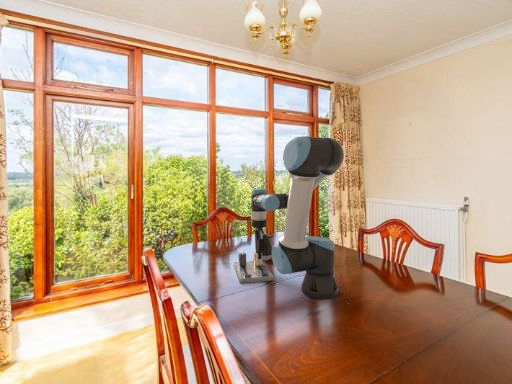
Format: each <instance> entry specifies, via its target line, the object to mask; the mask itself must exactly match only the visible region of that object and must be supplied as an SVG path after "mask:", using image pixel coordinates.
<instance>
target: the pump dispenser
mask: <svg viewBox="0 0 512 384" xmlns="http://www.w3.org/2000/svg"><path fill="white" fill-rule="evenodd" d="M263 235H264V245H263V252H262V260H263V262H265V261H266V262H267V261H269V260H271V259H272V248H273V244H272V241H271V238H274V234H271V235H268V234H267V233H264V234H263Z"/></svg>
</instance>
